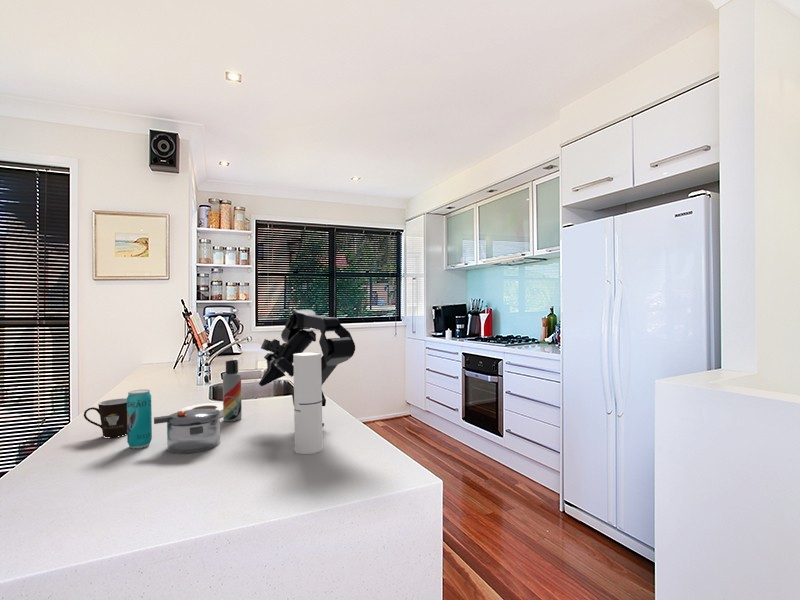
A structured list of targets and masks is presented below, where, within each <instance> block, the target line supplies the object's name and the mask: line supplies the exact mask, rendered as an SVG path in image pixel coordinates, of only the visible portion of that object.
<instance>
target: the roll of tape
mask: <svg viewBox="0 0 800 600" xmlns="http://www.w3.org/2000/svg"><path fill="white" fill-rule="evenodd" d="M192 409H216V410H219V411H220V418H223V417H222V416H223V402H208V403H207V402H206V403H198V404H192V405H188V406H185V407H183V408H181V409H179V411H186V410H192Z"/></svg>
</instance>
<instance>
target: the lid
mask: <svg viewBox="0 0 800 600" xmlns="http://www.w3.org/2000/svg"><path fill="white" fill-rule="evenodd" d="M219 417H220V411H219V410H216V409H192V410H186V411H180V410H179V411H177V412H174V413H171V414H169V415H163V416H155V417H153V424H154V425H157V424H158V425H159V424H167V423H168V424H170V425H178V426H183V425H195V424H201V423H206V422H210V421H213V420H216V419H218V418H219ZM220 418H221V417H220Z"/></svg>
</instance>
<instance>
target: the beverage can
mask: <svg viewBox="0 0 800 600" xmlns="http://www.w3.org/2000/svg"><path fill="white" fill-rule="evenodd" d="M127 394H128V395H127V397H126V398H127V435H126V437H127V438H126V439H127V440H126V442H127V445H128V446H129V448H130V449H131V448H133V449H132V450H136V449H135V448H140V449H144V448H147V447H148V445H149V446H150V445H151V442H152V439H153V438H152V437H153V435H152V434H153V431H152V429H153V424H152V422H153V420H152V419H153V418H152V416H153V415H152V394H151V390H150V389H137V390H131V391H128V392H127ZM146 446H147V447H146ZM143 447H144V448H143Z"/></svg>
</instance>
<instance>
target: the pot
mask: <svg viewBox="0 0 800 600" xmlns="http://www.w3.org/2000/svg"><path fill="white" fill-rule="evenodd" d="M166 435H167V436H166V438H167V439H166V441H167V443H166V445H167V446H166V450H167V451H169V453H171V454H176V453H178V454H179V455H181V454H183V455H185V454H194V453H200V452H201V453H202V452H205V451H209V450H211V449H214V448H216V447H218V446H219V445H220V444H221V417H219V418H218V419H216V420H213V421H210V422H206V423H201V424H195V425H183V426H178V425H170V424H168V423H167V422H166Z"/></svg>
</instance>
